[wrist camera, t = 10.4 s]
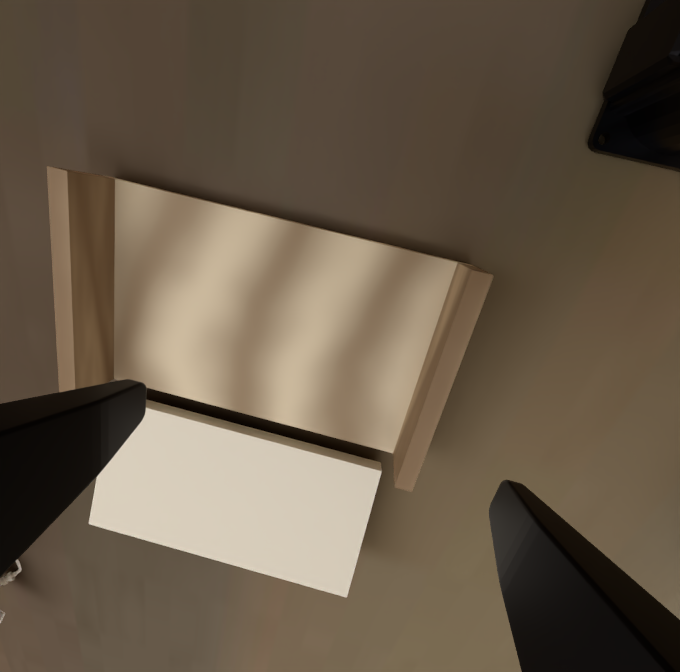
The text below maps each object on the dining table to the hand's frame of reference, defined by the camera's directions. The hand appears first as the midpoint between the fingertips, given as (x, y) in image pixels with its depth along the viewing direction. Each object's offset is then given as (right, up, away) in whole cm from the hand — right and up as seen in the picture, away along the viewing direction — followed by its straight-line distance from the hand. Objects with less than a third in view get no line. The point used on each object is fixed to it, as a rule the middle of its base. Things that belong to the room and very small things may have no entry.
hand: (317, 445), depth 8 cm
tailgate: (-6, -4, +14) cm, 15 cm away
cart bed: (-4, +4, +13) cm, 14 cm away
